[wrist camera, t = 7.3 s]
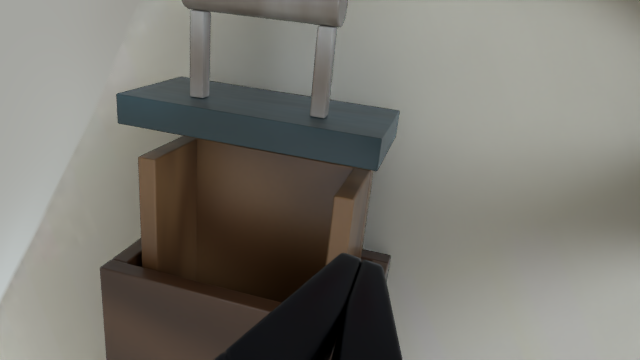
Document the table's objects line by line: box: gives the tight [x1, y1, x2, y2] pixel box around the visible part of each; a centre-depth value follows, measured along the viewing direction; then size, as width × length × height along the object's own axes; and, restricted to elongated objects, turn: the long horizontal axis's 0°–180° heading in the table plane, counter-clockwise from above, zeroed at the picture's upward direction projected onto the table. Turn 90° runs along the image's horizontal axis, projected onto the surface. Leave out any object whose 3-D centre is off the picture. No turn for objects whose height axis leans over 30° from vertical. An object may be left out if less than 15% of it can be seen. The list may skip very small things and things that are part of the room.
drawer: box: [116, 0, 400, 303], centre depth 22 cm, size 17×10×5 cm, turn 174°
